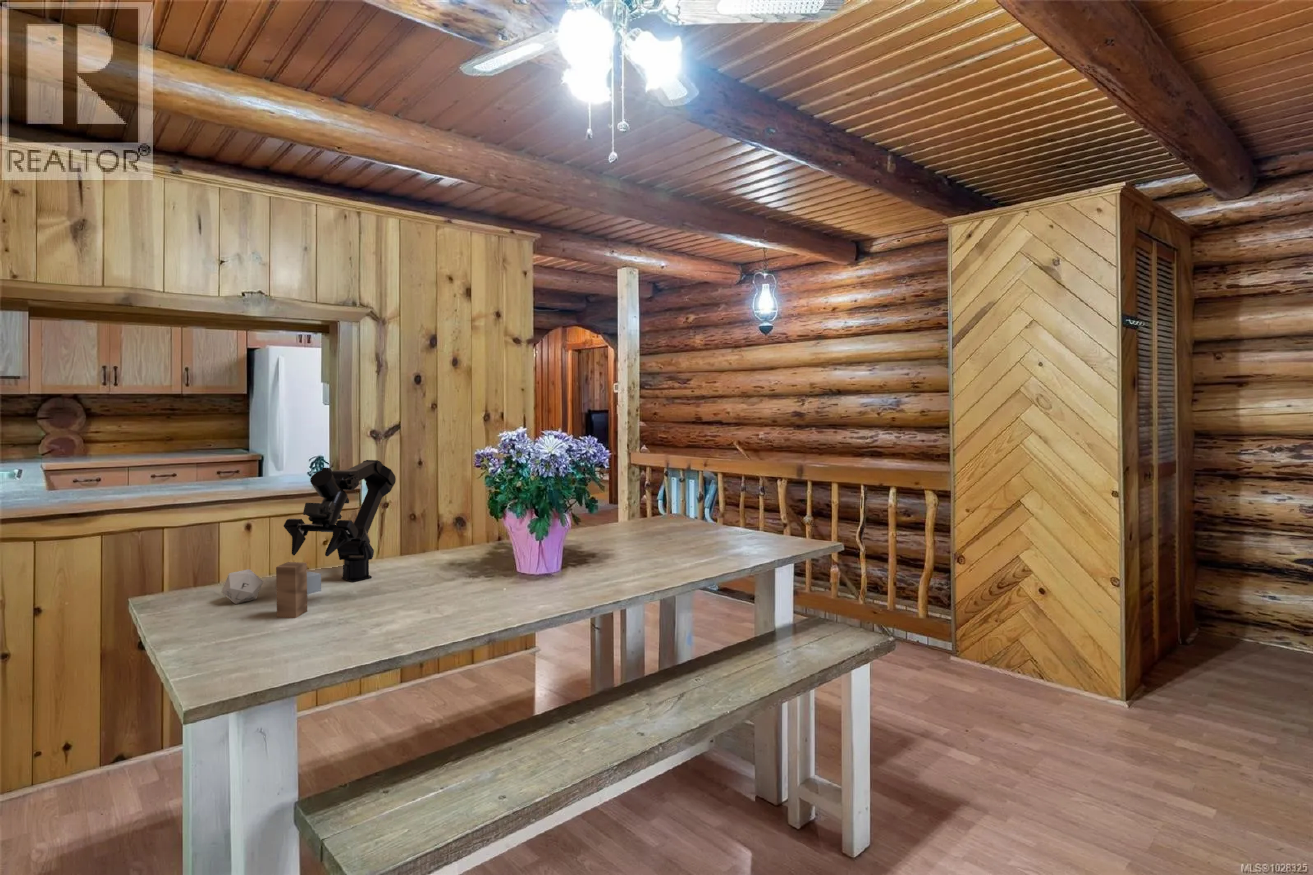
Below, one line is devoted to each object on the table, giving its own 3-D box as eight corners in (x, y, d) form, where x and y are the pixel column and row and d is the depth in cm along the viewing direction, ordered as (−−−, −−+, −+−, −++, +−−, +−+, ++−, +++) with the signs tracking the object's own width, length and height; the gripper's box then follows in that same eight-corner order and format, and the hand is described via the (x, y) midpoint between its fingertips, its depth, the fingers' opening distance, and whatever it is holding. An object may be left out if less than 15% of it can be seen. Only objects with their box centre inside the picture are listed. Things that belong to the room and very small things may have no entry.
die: (214, 607, 178) (225, 581, 174) (224, 583, 185) (235, 558, 181) (249, 614, 182) (260, 589, 178) (258, 590, 189) (269, 566, 185)
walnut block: (288, 610, 174) (288, 562, 173) (307, 611, 174) (306, 562, 173) (276, 617, 169) (276, 566, 168) (296, 617, 169) (295, 567, 168)
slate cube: (309, 588, 194) (309, 571, 194) (321, 590, 192) (320, 574, 192) (293, 592, 190) (293, 575, 190) (305, 595, 188) (305, 578, 187)
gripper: (286, 489, 184) (261, 537, 173) (352, 491, 183) (331, 540, 172) (303, 512, 192) (281, 560, 182) (366, 514, 191) (347, 562, 181)
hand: (309, 555), depth 179 cm, fingers open, 9 cm apart
